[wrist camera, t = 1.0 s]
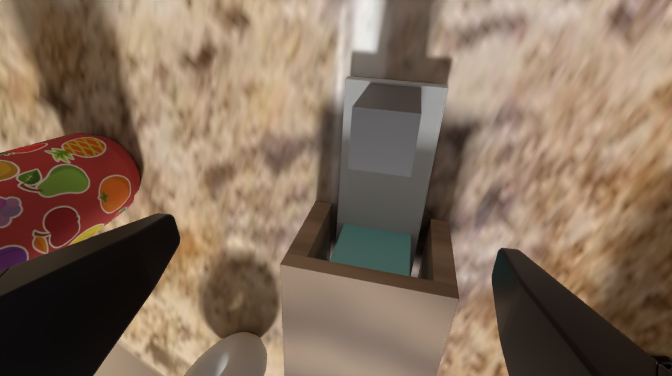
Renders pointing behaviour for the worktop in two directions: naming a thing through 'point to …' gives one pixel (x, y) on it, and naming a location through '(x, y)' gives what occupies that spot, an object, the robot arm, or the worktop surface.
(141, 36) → the worktop surface
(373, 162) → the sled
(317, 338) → the tunnel
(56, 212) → the smoothie
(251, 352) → the donut
